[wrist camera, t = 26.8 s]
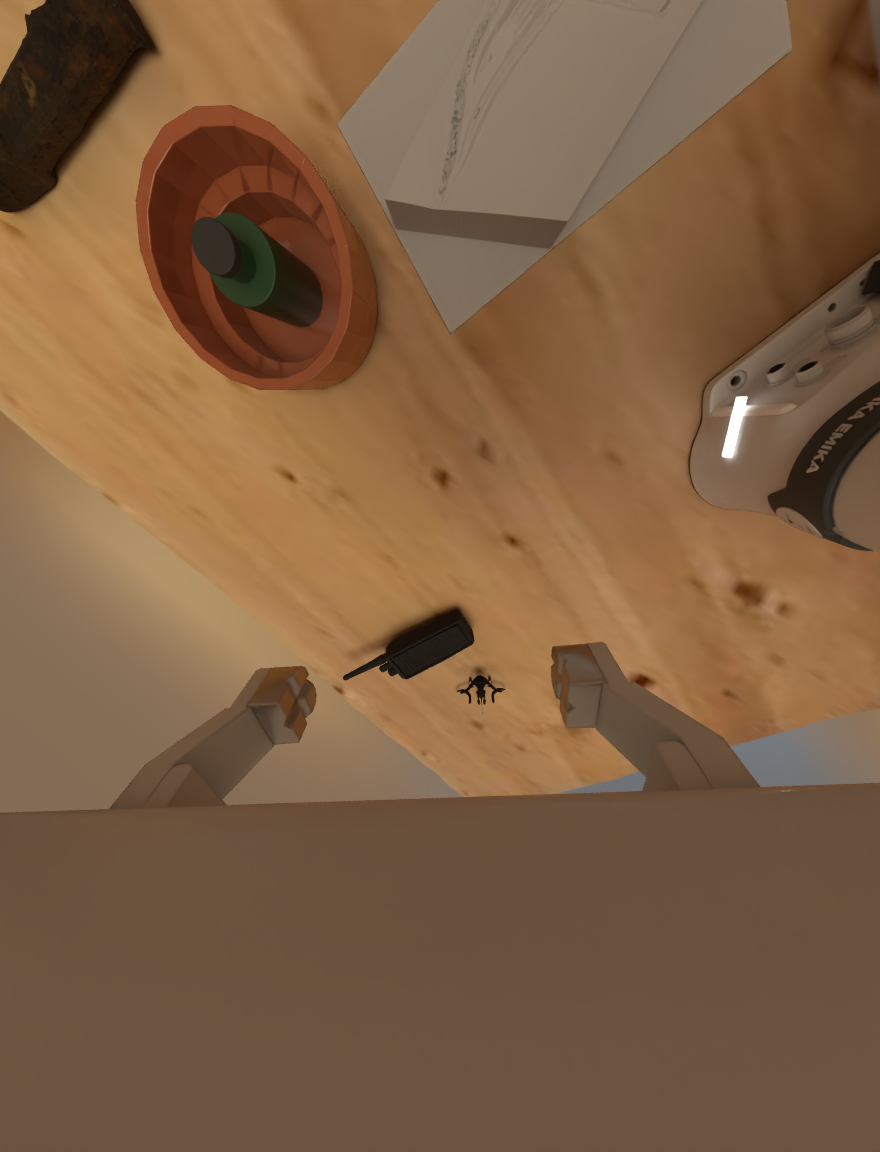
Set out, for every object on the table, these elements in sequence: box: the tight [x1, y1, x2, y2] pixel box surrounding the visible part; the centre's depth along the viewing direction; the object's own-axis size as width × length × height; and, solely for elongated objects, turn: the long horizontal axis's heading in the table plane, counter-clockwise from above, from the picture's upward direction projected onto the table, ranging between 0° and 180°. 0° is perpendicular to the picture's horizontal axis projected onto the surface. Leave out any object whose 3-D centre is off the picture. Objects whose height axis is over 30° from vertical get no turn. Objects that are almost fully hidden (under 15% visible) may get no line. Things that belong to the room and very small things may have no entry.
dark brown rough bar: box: [0, 0, 154, 212], centre depth 24 cm, size 19×4×5 cm, turn 119°
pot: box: [136, 105, 377, 390], centre depth 27 cm, size 15×15×9 cm
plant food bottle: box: [191, 212, 322, 327], centre depth 25 cm, size 5×5×12 cm
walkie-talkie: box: [343, 610, 474, 680], centre depth 48 cm, size 6×6×20 cm
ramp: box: [337, 0, 792, 334], centre depth 22 cm, size 28×16×5 cm, turn 124°
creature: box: [457, 675, 505, 715], centre depth 52 cm, size 8×5×8 cm
